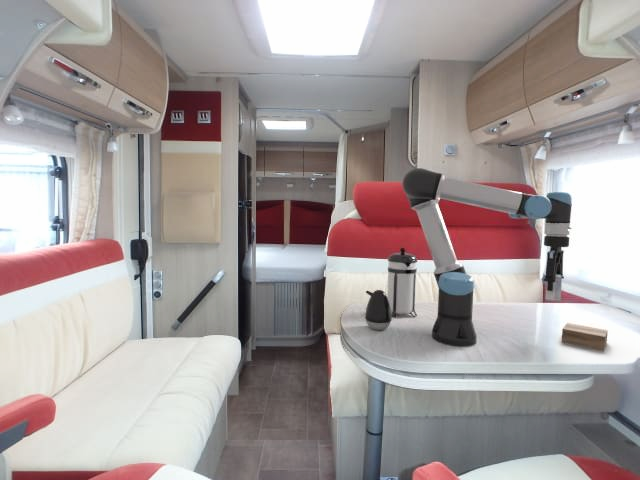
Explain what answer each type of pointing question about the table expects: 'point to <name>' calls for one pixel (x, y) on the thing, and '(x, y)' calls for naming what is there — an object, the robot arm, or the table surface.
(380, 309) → the pump dispenser
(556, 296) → the medicine box
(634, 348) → the table surface
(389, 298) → the coffee press
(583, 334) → the walnut block
